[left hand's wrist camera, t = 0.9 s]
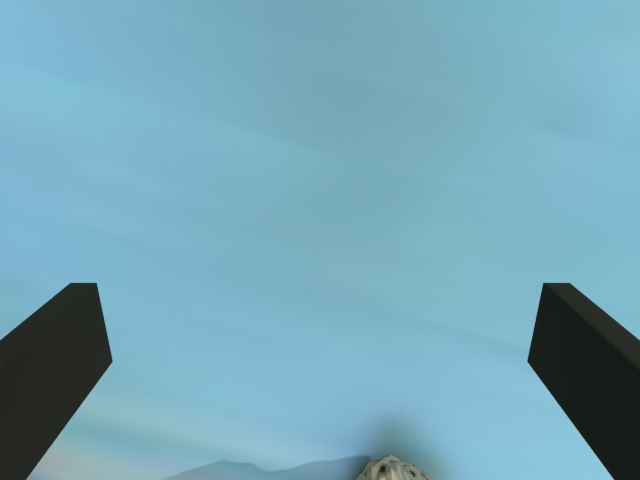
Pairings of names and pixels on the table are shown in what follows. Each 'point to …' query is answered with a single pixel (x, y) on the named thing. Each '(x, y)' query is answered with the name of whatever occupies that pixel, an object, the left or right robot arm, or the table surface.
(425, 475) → the teapot
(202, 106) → the table surface
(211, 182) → the table surface
